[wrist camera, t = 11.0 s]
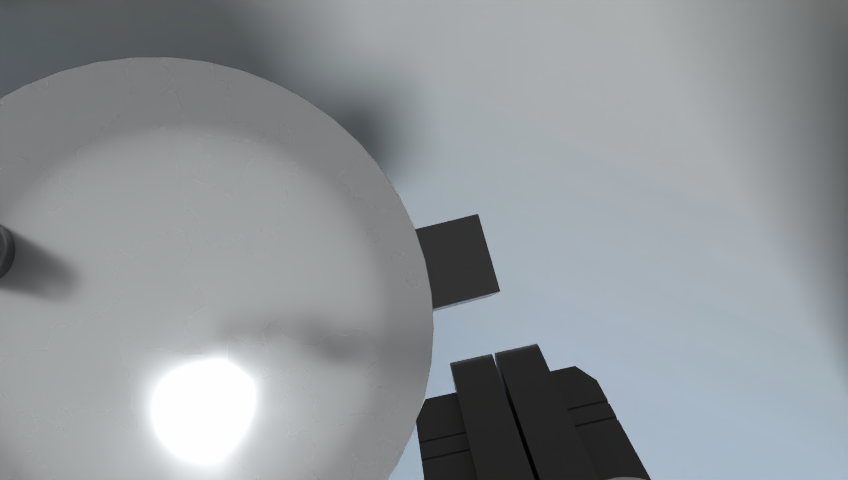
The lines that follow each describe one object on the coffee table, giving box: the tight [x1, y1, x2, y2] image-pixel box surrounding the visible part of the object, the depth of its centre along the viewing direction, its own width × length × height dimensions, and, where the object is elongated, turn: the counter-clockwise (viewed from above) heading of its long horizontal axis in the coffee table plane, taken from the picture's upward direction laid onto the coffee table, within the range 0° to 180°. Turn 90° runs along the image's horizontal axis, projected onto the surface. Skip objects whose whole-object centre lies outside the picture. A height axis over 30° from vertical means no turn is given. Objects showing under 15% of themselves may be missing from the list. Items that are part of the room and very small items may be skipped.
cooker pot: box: [415, 214, 500, 311], centre depth 31 cm, size 17×23×10 cm
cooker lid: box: [0, 57, 434, 480], centre depth 24 cm, size 18×17×3 cm
